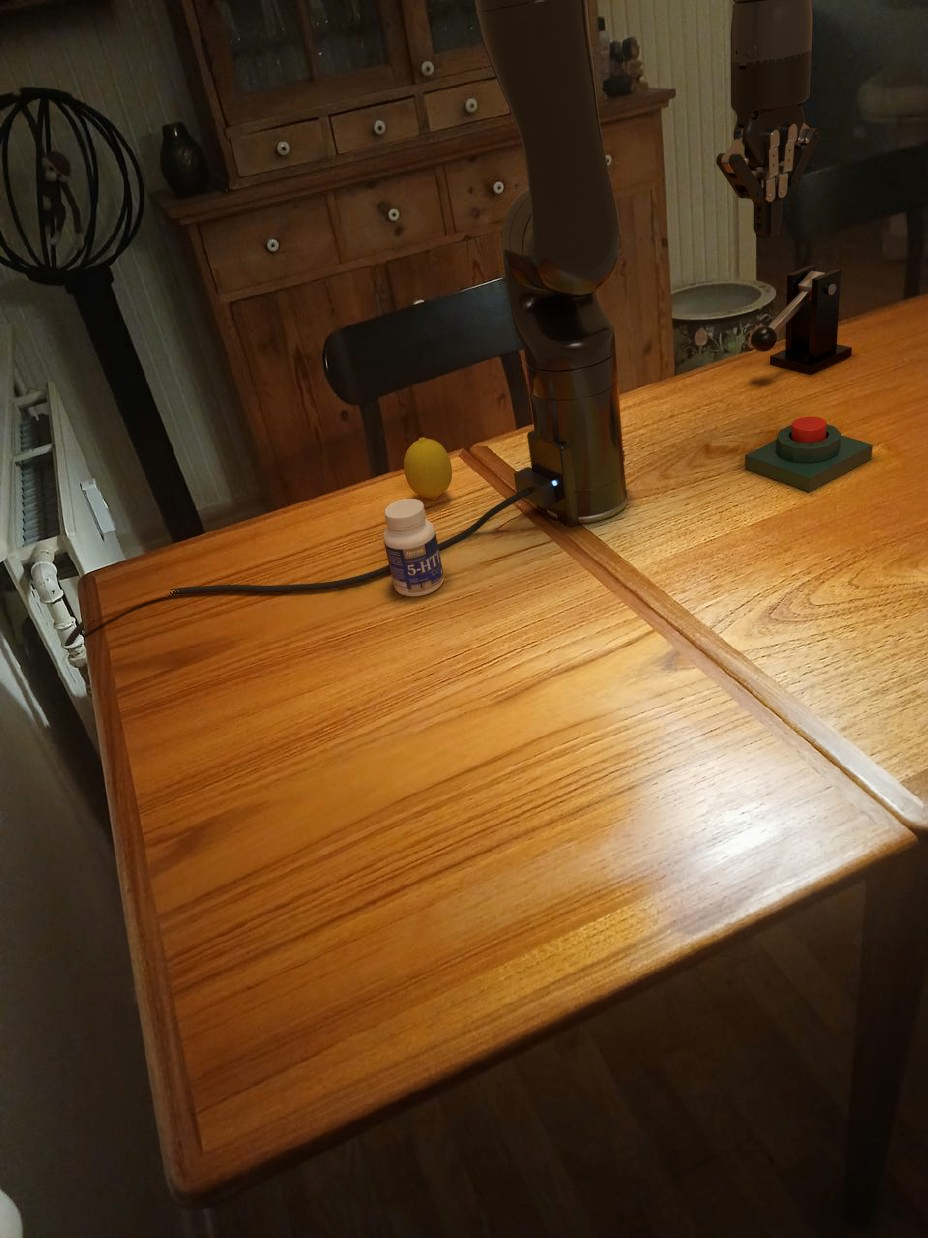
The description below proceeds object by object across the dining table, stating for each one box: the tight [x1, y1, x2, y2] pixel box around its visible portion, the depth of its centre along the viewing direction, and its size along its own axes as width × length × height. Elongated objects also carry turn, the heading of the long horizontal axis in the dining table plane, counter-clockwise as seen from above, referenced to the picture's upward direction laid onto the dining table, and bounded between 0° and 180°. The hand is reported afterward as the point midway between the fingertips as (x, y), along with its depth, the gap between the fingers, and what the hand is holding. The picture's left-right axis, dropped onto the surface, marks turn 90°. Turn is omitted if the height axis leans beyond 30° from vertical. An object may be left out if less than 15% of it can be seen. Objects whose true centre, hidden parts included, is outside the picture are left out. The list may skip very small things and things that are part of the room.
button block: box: [744, 423, 874, 493], centre depth 105 cm, size 10×9×4 cm
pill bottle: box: [382, 498, 445, 597], centre depth 96 cm, size 5×5×9 cm
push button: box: [791, 416, 828, 443], centre depth 104 cm, size 4×4×2 cm
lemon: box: [403, 437, 453, 501], centre depth 111 cm, size 6×6×8 cm
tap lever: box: [750, 270, 826, 353], centre depth 124 cm, size 13×3×3 cm, turn 123°
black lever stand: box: [769, 265, 853, 375], centre depth 126 cm, size 8×7×12 cm
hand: (767, 236), depth 102 cm, fingers closed
